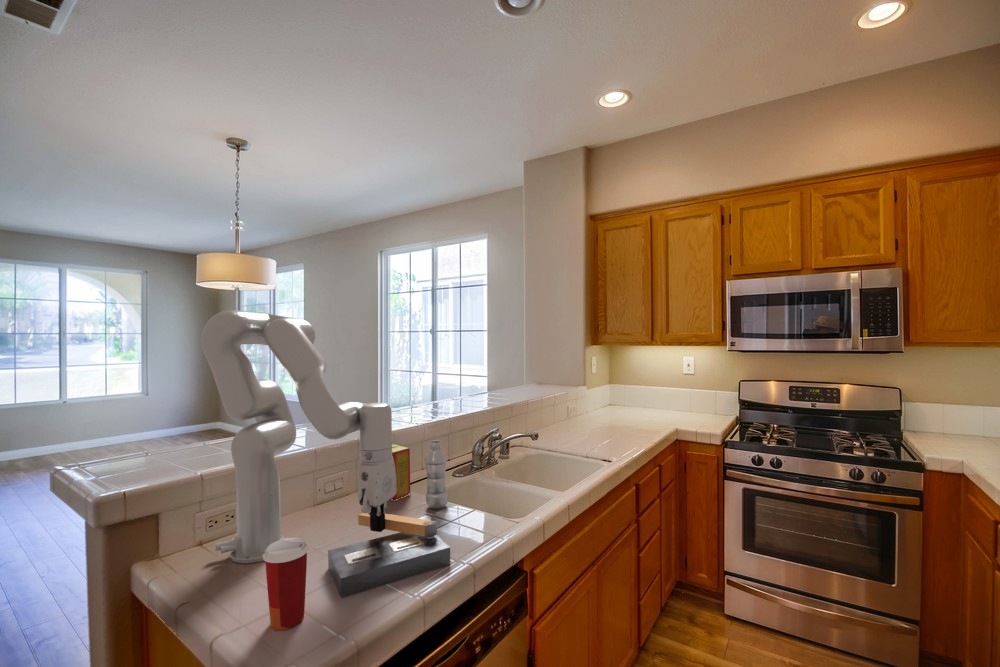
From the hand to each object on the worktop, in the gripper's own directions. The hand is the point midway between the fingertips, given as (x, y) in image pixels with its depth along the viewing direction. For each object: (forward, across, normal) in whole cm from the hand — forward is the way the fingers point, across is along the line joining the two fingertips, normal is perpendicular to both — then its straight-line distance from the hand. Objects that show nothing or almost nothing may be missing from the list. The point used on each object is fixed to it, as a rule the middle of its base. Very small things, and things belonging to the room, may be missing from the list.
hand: (377, 529), depth 109 cm
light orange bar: (+1, +3, -4) cm, 5 cm away
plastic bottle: (+6, +30, -1) cm, 31 cm away
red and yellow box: (+6, +36, +18) cm, 40 cm away
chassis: (+6, -5, -6) cm, 10 cm away
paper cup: (+6, -28, +1) cm, 28 cm away
